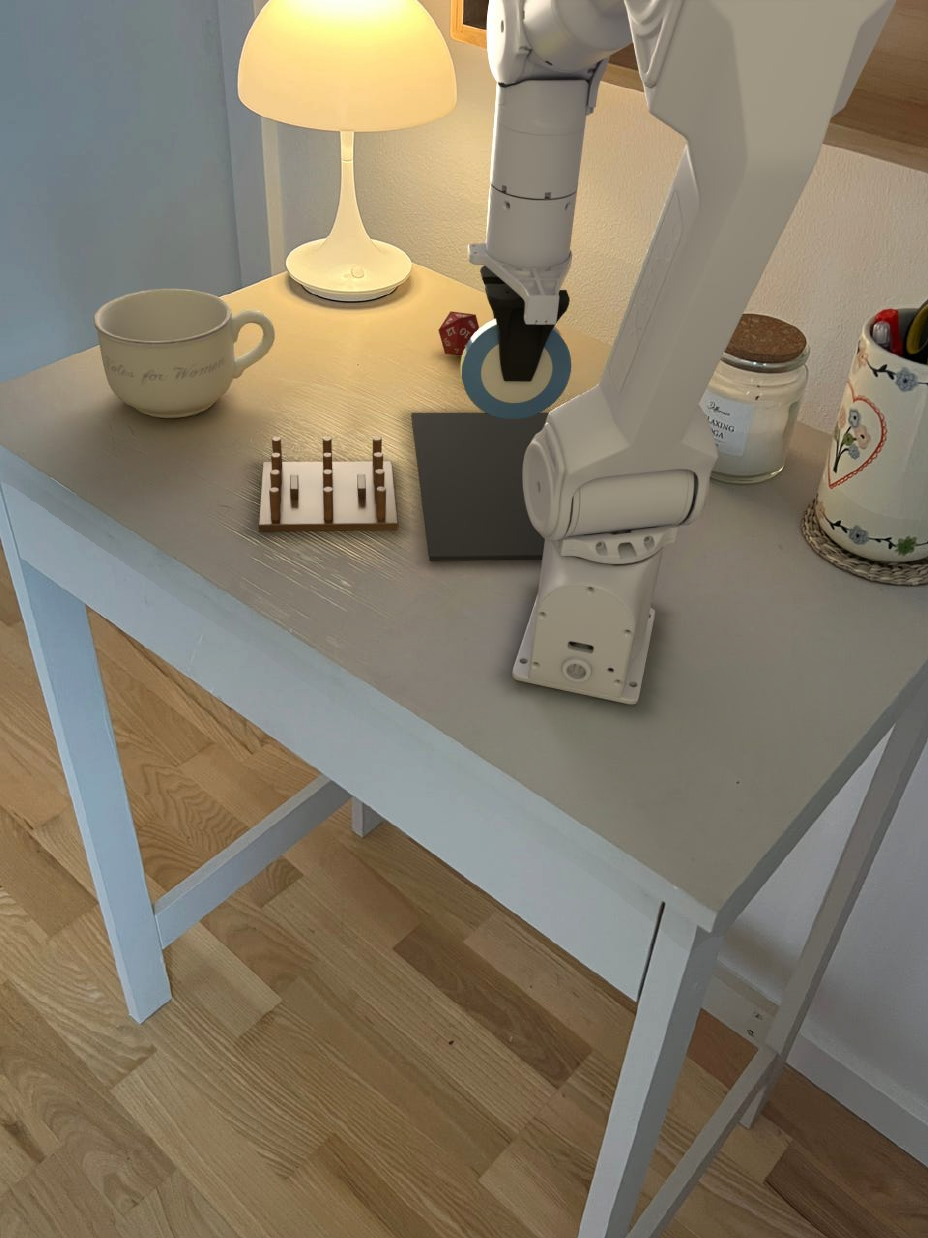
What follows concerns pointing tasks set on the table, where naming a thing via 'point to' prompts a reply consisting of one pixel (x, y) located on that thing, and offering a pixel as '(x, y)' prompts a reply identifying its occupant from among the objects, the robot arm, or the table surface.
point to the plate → (513, 396)
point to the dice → (457, 332)
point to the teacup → (174, 349)
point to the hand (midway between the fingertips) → (515, 373)
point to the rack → (327, 493)
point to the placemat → (475, 485)
